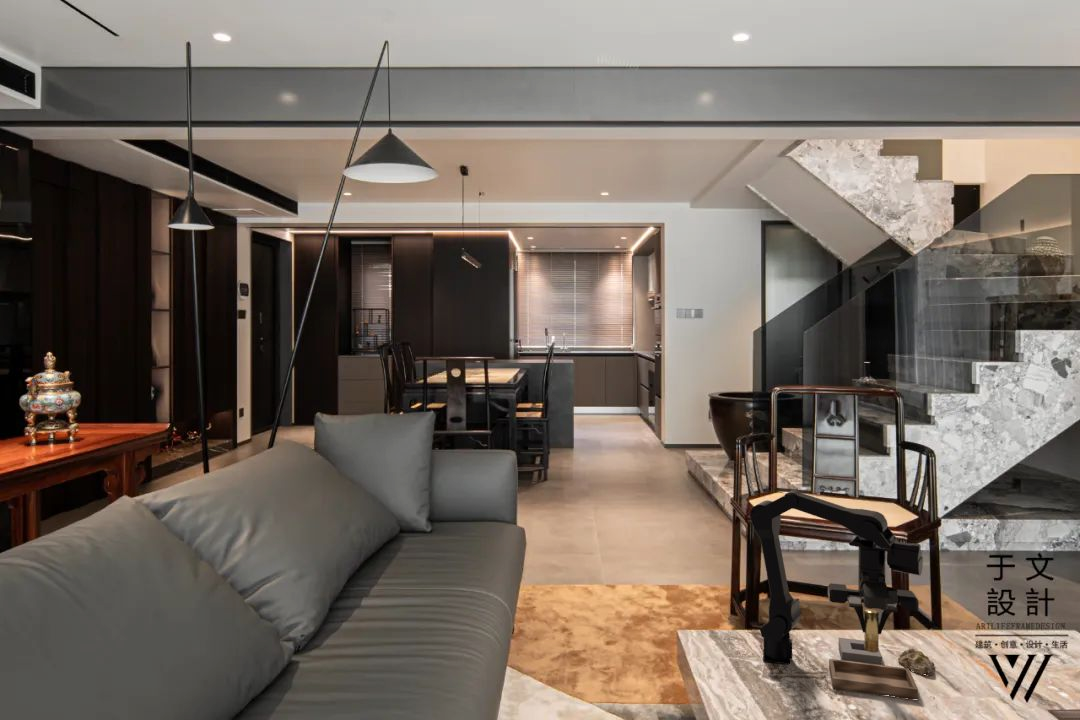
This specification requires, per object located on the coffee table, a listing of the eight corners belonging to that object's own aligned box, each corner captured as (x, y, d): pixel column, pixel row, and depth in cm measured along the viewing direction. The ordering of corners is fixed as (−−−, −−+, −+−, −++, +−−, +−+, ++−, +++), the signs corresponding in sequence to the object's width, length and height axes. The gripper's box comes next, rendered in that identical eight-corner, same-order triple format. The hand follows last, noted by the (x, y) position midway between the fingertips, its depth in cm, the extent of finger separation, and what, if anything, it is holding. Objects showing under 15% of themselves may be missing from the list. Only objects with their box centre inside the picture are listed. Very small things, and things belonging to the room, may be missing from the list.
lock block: (842, 663, 173) (842, 651, 173) (838, 648, 181) (838, 637, 181) (881, 668, 170) (881, 656, 170) (876, 653, 178) (876, 641, 178)
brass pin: (865, 651, 162) (865, 613, 161) (863, 646, 164) (863, 608, 164) (879, 653, 161) (879, 614, 160) (877, 647, 164) (877, 610, 163)
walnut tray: (832, 688, 160) (832, 678, 160) (829, 668, 170) (829, 658, 170) (918, 700, 155) (918, 689, 155) (908, 678, 165) (908, 668, 165)
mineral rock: (889, 648, 177) (921, 640, 176) (894, 664, 177) (926, 657, 176) (907, 669, 166) (941, 661, 165) (912, 686, 166) (946, 678, 166)
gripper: (831, 573, 157) (831, 641, 158) (924, 581, 152) (923, 652, 152) (827, 559, 168) (827, 623, 168) (913, 566, 162) (913, 632, 163)
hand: (871, 632), depth 162 cm, fingers closed on brass pin, 3 cm apart
